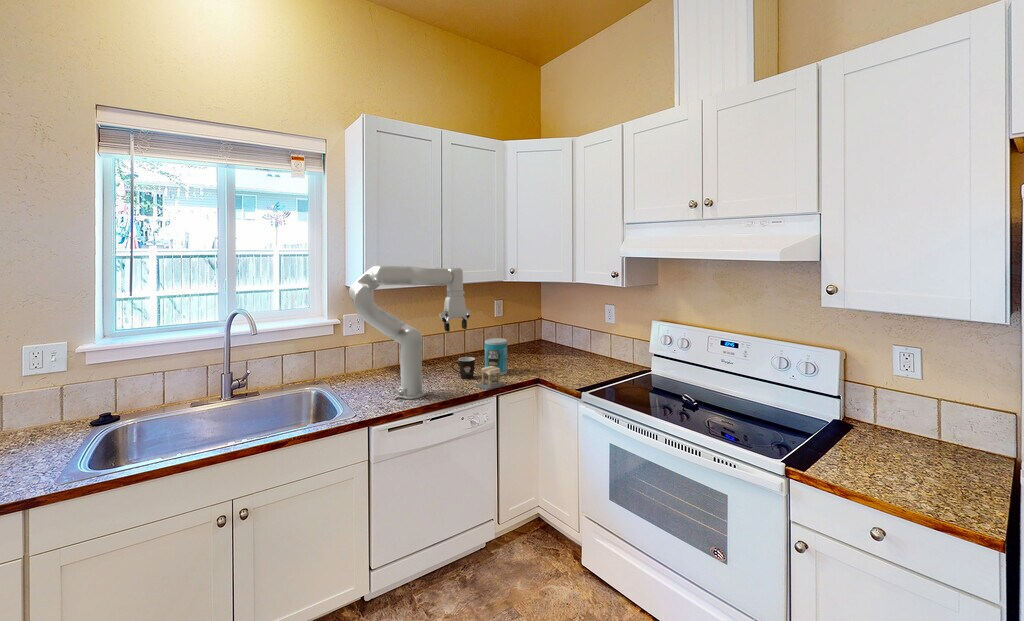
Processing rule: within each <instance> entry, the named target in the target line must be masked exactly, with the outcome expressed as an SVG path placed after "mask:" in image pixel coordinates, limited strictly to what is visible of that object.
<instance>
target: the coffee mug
mask: <svg viewBox="0 0 1024 621" xmlns="http://www.w3.org/2000/svg"><path fill="white" fill-rule="evenodd" d="M453 364H457V365H458V366H459V370H457V369H456V368H454V367H453ZM475 364H476V358H475V357H473V356H463V357H459V358H458V361H452V363H451V365H450V366H451V369H453V370H454V371H455V372H457V373H459V375H460V379H461V380H465V379H468V380H472V379H474V375H475V374H474V373H475V366H476V365H475Z"/></svg>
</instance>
